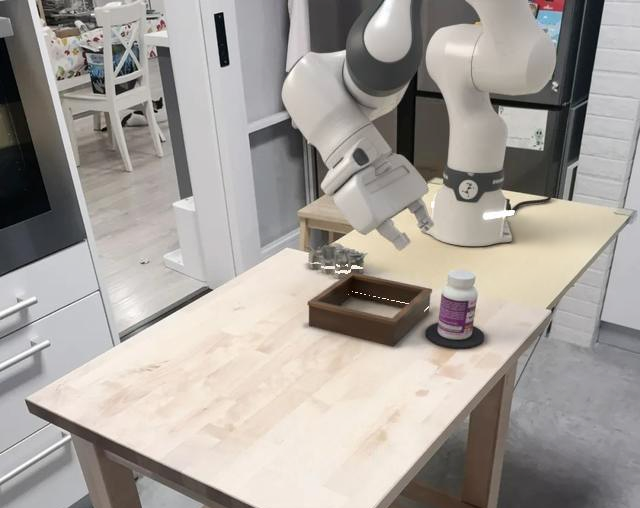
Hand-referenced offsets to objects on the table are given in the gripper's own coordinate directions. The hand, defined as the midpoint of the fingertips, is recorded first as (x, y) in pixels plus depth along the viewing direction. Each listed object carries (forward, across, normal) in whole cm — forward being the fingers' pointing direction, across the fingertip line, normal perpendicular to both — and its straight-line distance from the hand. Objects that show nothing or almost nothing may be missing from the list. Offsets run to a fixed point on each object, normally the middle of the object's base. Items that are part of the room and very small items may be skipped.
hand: (417, 237), depth 106 cm
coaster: (+15, 0, -5) cm, 16 cm away
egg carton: (-5, -16, -26) cm, 31 cm away
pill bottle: (+15, 0, -5) cm, 16 cm away
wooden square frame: (+5, +1, -15) cm, 16 cm away
